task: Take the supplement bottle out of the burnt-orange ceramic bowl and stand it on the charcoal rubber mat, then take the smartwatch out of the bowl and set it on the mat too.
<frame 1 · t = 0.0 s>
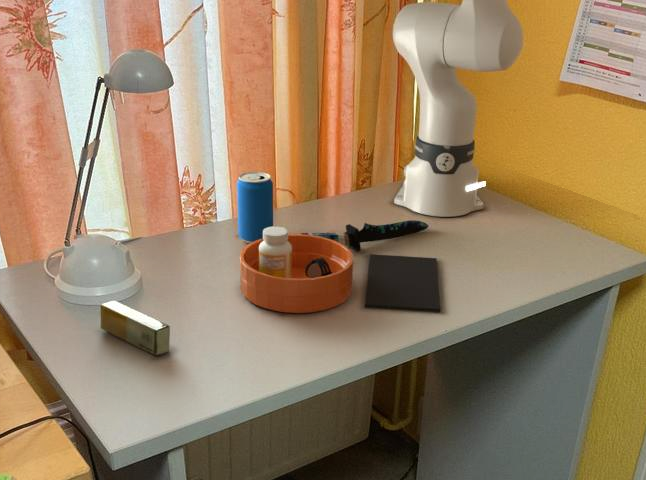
supplement bottle: (275, 286, 131), resting on bowl
smartwatch: (317, 289, 131), resting on bowl
mat: (402, 282, 135), on the table
bowl: (296, 289, 131), on the table
beverage can: (256, 240, 149), on the table
knife: (367, 247, 148), on the table
medication box: (136, 341, 115), on the table
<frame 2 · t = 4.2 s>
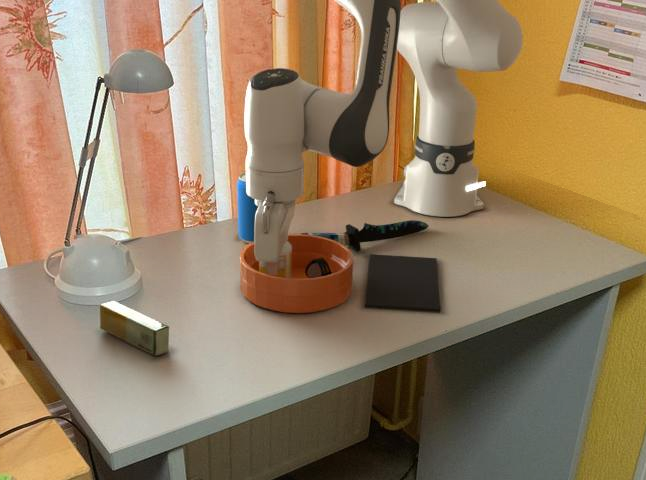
hand: (275, 264, 129), 4 cm above the table, tool pointing down, fingers closed on supplement bottle, 5 cm apart
supplement bottle: (275, 286, 131), resting on bowl, touching gripper
everything else where it was.
when the fingers open (2 cm above the table, at t = 25.2 s): supplement bottle stays where it is, resting on mat.
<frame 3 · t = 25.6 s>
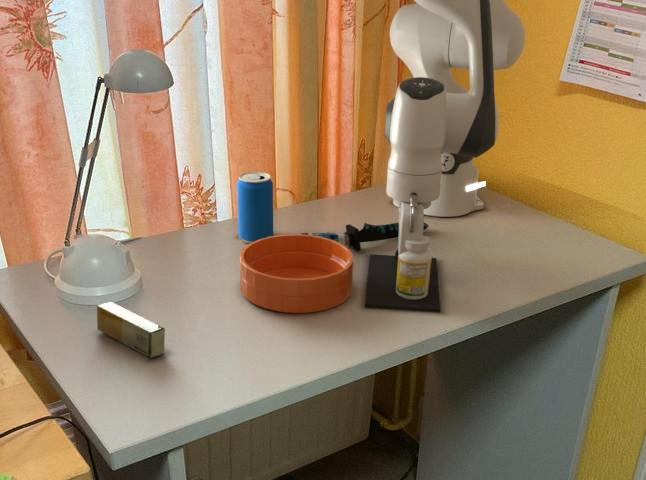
hand: (406, 261, 137), 2 cm above the table, tool pointing down, fingers open, 8 cm apart
supplement bottle: (411, 294, 130), resting on mat, touching gripper
smartwatch: (406, 272, 138), resting on mat
everything else where it was.
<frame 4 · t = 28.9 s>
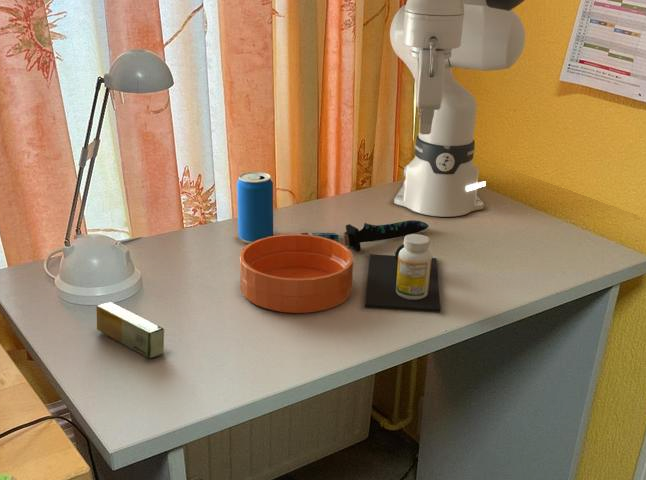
hand: (424, 125, 127), 25 cm above the table, tool pointing down, fingers open, 8 cm apart
supplement bottle: (411, 294, 130), resting on mat
everything else where it was.
at the end: supplement bottle inside the target area (4.7 cm from its centre), resting on mat; supplement bottle tilted 0°; smartwatch inside the target area (4.1 cm from its centre), resting on mat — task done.
